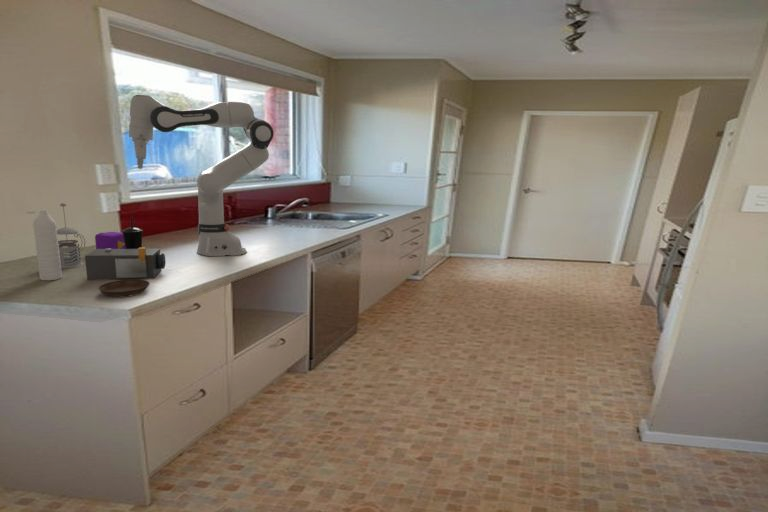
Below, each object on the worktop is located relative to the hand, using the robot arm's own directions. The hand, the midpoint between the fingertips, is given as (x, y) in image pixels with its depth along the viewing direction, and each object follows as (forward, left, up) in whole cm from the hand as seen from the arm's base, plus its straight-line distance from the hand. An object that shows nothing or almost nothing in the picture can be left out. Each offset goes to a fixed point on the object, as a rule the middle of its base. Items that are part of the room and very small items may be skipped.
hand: (139, 166), depth 190 cm
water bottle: (+23, +37, -40) cm, 59 cm away
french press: (+24, +15, -40) cm, 49 cm away
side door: (-5, +40, -39) cm, 56 cm away
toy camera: (+15, -7, -40) cm, 43 cm away
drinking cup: (+2, +11, -40) cm, 41 cm away
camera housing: (-1, +33, -40) cm, 52 cm away
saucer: (-7, +55, -40) cm, 68 cm away
